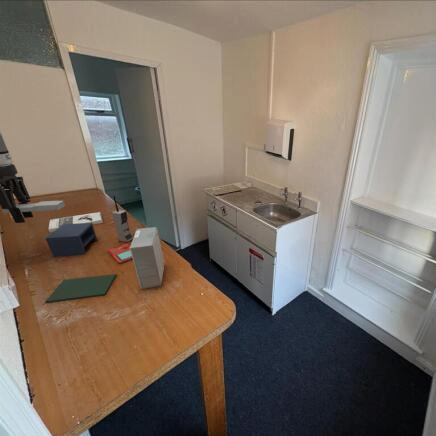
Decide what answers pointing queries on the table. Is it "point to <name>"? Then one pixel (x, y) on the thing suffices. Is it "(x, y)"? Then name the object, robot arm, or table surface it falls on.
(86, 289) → the mat
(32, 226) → the table surface
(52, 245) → the navy slotted box
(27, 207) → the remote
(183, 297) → the table surface
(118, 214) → the vintage mobile phone
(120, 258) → the handheld gaming console
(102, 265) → the table surface
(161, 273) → the hard drive box
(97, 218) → the book
